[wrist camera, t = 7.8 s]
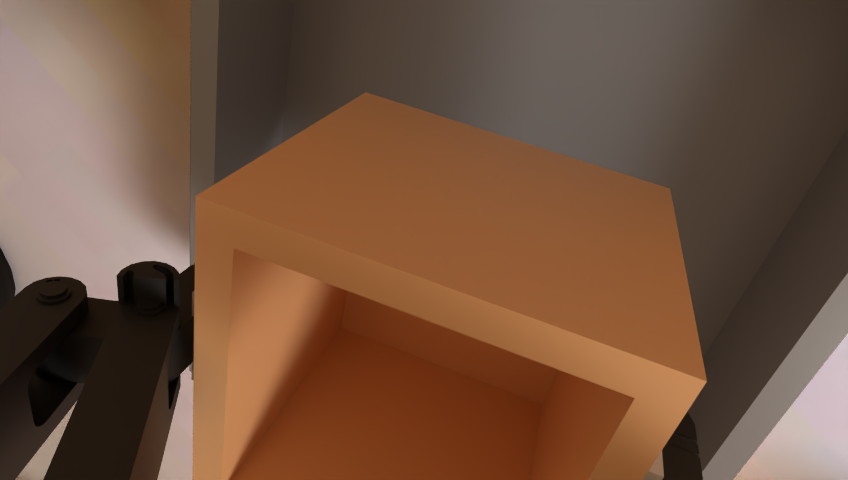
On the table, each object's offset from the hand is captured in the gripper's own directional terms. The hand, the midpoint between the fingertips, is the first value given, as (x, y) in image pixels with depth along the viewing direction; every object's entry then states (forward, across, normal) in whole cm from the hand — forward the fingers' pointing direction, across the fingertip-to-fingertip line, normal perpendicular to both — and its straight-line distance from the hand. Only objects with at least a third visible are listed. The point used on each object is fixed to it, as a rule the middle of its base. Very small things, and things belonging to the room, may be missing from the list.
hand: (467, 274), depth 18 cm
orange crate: (+1, 0, 0) cm, 1 cm away
